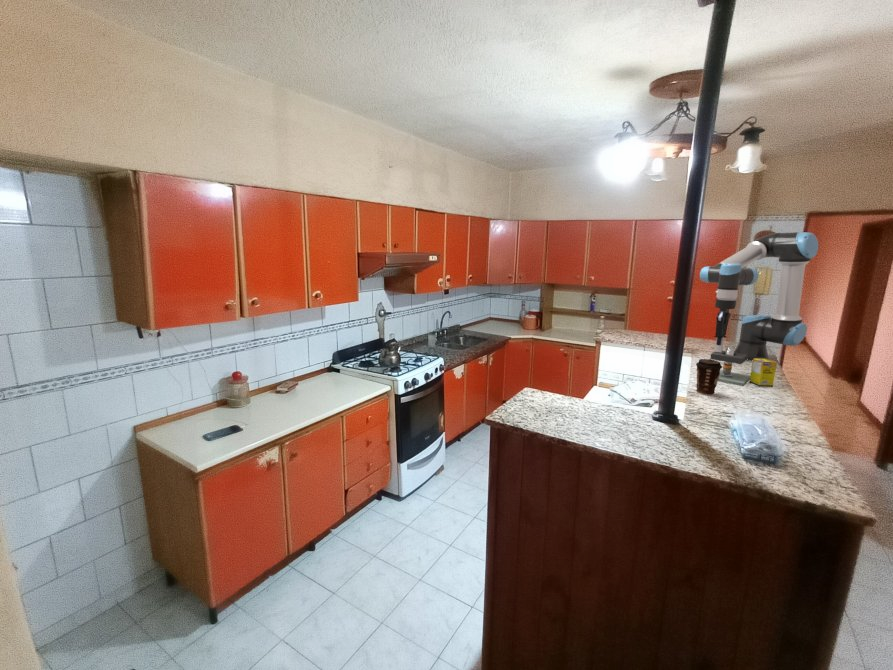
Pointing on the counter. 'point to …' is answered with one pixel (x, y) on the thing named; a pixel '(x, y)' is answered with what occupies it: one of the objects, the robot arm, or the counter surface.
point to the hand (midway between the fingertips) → (718, 351)
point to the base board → (734, 379)
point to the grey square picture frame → (729, 357)
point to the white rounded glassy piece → (728, 363)
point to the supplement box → (763, 372)
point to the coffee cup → (707, 376)
